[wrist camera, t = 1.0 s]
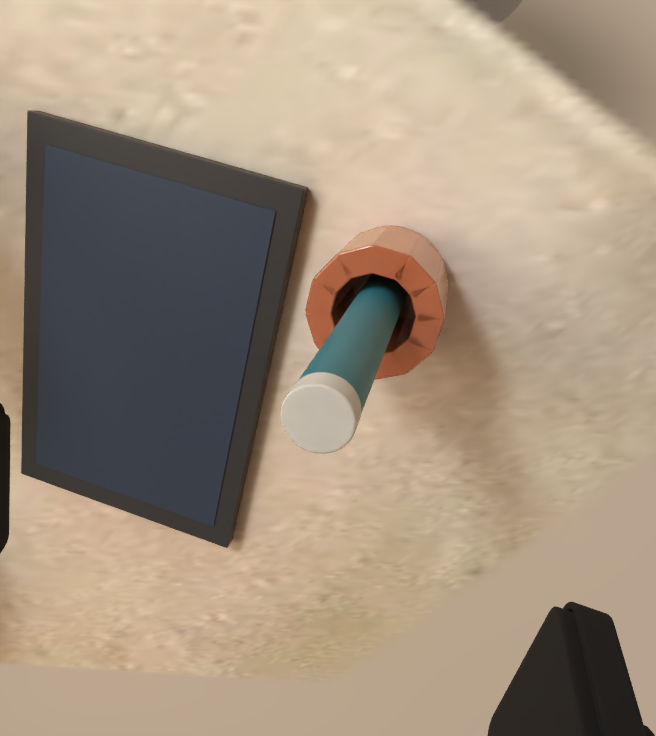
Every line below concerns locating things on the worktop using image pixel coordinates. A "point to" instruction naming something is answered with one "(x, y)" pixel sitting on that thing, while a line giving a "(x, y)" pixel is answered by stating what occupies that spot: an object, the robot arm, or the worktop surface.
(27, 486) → the worktop surface
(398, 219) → the worktop surface
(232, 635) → the worktop surface
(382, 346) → the stylus
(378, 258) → the holder
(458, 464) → the worktop surface
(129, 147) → the tablet
